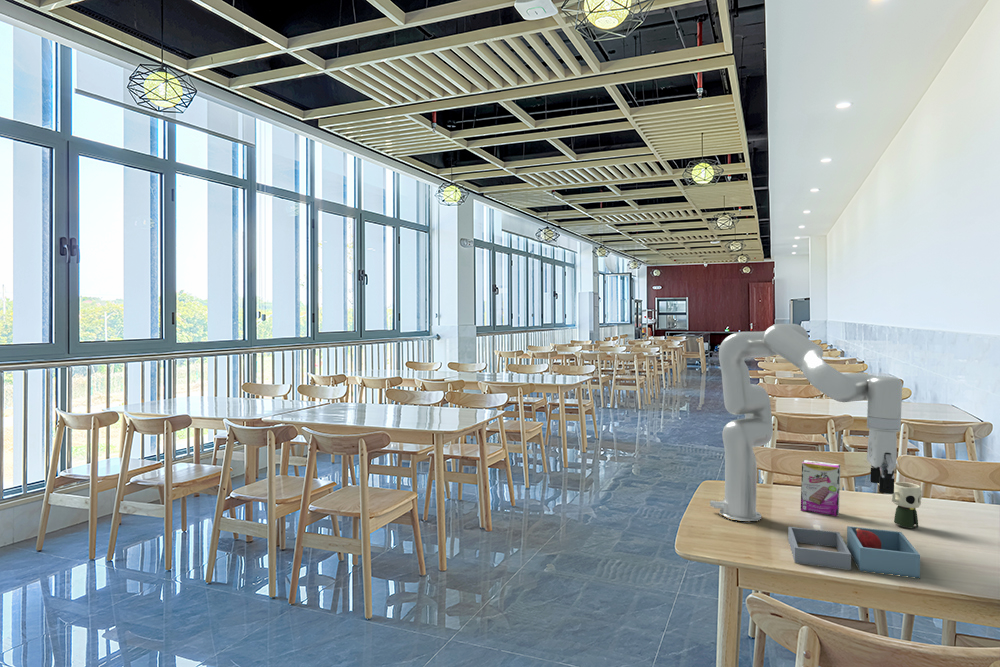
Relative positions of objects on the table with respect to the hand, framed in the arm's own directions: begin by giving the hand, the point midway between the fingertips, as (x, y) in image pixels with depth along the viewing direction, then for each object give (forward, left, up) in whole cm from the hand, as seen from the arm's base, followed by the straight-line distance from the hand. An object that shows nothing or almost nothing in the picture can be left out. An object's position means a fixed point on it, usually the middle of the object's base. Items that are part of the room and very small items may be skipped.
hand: (881, 487), depth 160 cm
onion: (0, 0, -18) cm, 18 cm away
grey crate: (-15, 0, -20) cm, 25 cm away
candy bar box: (-9, +40, -20) cm, 46 cm away
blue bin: (0, 0, -20) cm, 20 cm away
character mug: (+14, +34, -20) cm, 42 cm away
